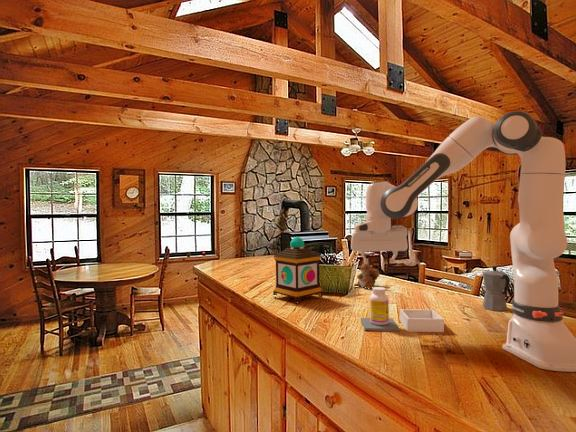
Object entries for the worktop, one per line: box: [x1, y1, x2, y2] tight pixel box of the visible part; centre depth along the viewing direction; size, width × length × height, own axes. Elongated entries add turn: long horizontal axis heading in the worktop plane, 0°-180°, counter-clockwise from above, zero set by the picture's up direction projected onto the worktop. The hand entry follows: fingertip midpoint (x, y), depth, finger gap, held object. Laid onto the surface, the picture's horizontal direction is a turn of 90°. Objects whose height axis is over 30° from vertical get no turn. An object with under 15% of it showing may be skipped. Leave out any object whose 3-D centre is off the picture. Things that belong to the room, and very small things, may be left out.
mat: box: [360, 317, 401, 332], centre depth 135 cm, size 12×12×1 cm
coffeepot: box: [482, 266, 511, 312], centre depth 155 cm, size 15×9×18 cm, turn 6°
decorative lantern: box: [272, 236, 324, 303], centre depth 178 cm, size 20×20×30 cm
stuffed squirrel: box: [353, 262, 380, 290], centre depth 202 cm, size 10×14×13 cm
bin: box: [399, 308, 445, 333], centre depth 134 cm, size 12×12×4 cm
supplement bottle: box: [369, 286, 390, 325], centre depth 135 cm, size 7×7×13 cm
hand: (379, 263), depth 134 cm, fingers open, 8 cm apart
